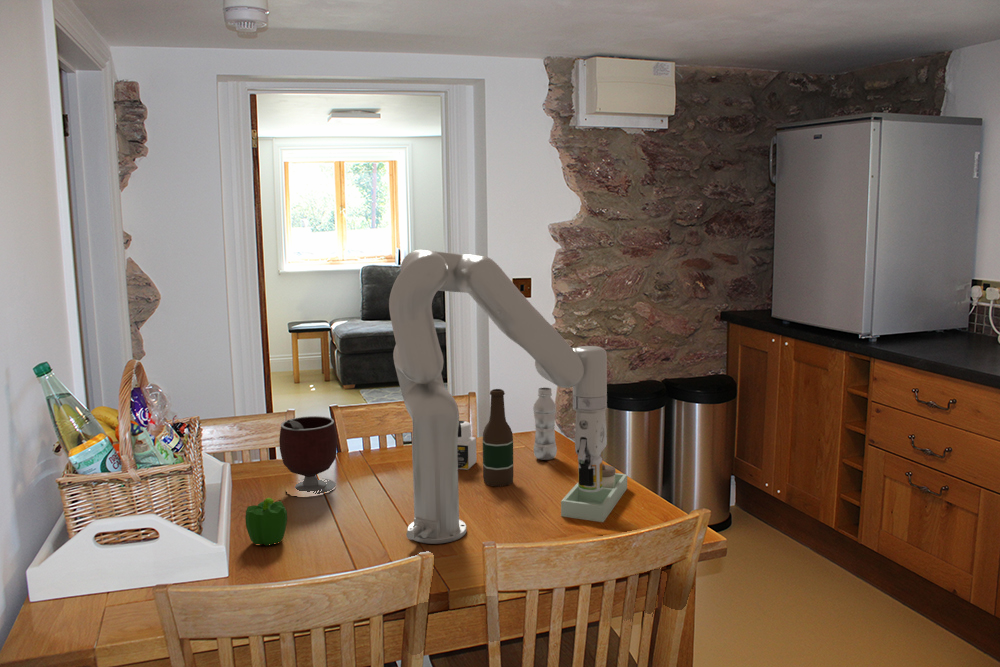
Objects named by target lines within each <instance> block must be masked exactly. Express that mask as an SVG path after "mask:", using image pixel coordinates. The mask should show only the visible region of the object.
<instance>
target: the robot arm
mask: <svg viewBox="0 0 1000 667" xmlns="http://www.w3.org/2000/svg"><path fill="white" fill-rule="evenodd" d="M438 291H440V292H452V293H466V294H469V296H470V297H471V298H472V299H473V301H475V302H476V304H477V305H478V306H479V307H480V308H481V309H482V311H484V313H485V314H486V315H487V316H488V317H489V318H490V320H491V321H492V323H494V325H496V327H497V328H498V329H499V330H500V332H502V333H503V334H504V335H505V336H506V337H507V338H508V339H510V340H511V341H513V342H514V343H516V345H518V346H519V347H521V348H522V349H523V350H525V352H527V354H528V355H530V356H531V357H532V358H533V359H534V360H535V361H534V366H535V370H536V372H537V373H538V374H539V375H540V376H541V377H542V378H543V379H545V380H547V381H549V382H550V383H552V384H553V385H556V386H557V387H559V388H563V389H569V388H572V410H573V411H575V412H576V413H575V425H574V426H575V428H574V430H575V431H574V447H575V448H574V449H575V453H576V455H577V463H578V462H579V485H584V486H593V484H594V479H593V468H592V461H593V456H594V457H596V456H598V455H600V456H601V457H602V454H601V453H602V452H603V451H604V449H606V447H607V444H608V441H607V440H608V438H607V436H608V434H607V420H606V419H607V417H606V410H607V409H608V403H607V402H608V393H607V392H608V386H607V385H608V376H607V375H608V355H607V350H606V349H605V348H603V347H601V346H598V345H597V346H596V345H583V346H577V347H571V345H570V344H569V343H568V342H567V341H566V339H565V338H564V337H563V336H562V335H561V333H560V332H558V331H557V330H556V328H555V327H554V326H552V325H551V323H550V322H549V321H547V319H545V317H544V316H543V315H542V313H541V312H539V311H538V309H537V308H535V307H534V306H533V305H532V303H531V302H530V301H529V300H528V299H527V297H526V296H525V295H524V294H523V293H522V292H521V291H520V289H519V288H518V287H517V285H515V284H514V282H513V281H512V280H511V279H510V278H509V276H508V275H507V274H506V273H505V271H503V269H502V268H501V267H500V265H499V264H497V263H496V262H495V260H493V258H490V257H488V256H484V255H478V254H467V253H453V252H446V251H445V252H444V251H436V250H428V249H416V250H413V251H410V252H409V253H408V254H406V256H404V258H403V260H402V262H401V265H400V273H399V274H398V275H397V277H396V279H395V281H394V282H393V285H392V288H391V290H390V293H389V300H388V309H389V317H390V321H391V322H390V323H391V326H392V330H393V336H394V340H395V346H394V347H393V348H394V349H393V353H392V355H393V356H392V358H393V363H394V367H395V372H396V376H397V381H398V384H399V387H400V392H401V396H402V399H403V402H404V405H405V410H406V411H407V413H408V414H409V417H410V418H411V421H412V439H411V443H412V444H411V454H412V456H411V457H412V477H413V478H412V482H413V483H412V484H413V485H412V486H413V487H412V488H413V510H414V511H413V513H414V516H413V517H414V518H413V521H412V522H411V523H410V524H409V525H408V526H407V528H406V529H407V532H406V538H407V539H408V540H410V541H415V542H417V543H421V544H428V545H440V544H446V543H451V542H454V541H457V540H460V539H461V538H462V537H464V536H465V535H466V533H467V530H468V529H467V524H466V523H465V521H463V520H461V519H460V504H459V502H460V498H459V496H460V494H459V469H458V451H457V442H458V428H459V421H460V411H459V408H458V404H457V401H456V399H455V398H454V396H453V395H452V394H451V393H450V391H448V390H447V389H446V387H445V384H444V380H443V375H442V372H443V368H444V362H445V361H444V355H443V352H442V348H441V345H440V342H439V337H438V334H437V330H436V326H435V320H434V316H433V307H432V306H433V304H432V303H433V300H434V297H435V295H436V293H438ZM586 452H589V453H590V455H588V454H586ZM585 457H589V462H588V460H587V459H586V458H585Z"/></svg>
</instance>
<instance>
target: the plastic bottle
mask: <svg viewBox="0 0 1000 667" xmlns="http://www.w3.org/2000/svg"><path fill="white" fill-rule="evenodd" d="M552 395H553V394H552V388H550V387H539V388H538V390H537V396H538V398H537V399H536V400H535V401H534V404H533V408H532V409H533V416H534V425H535V435H534V443H533V454H534V457H535V458H536V459H537V460H541V461H548V460H549V461H550V460H553V459H555V457H556V456H557V452H558V449H557V443H556V434H555V433H556V432H555V427H556V426H555V423H556V414H557V406H556V403H555V401H554V400H553V399H552V397H553V396H552Z"/></svg>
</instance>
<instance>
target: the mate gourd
mask: <svg viewBox="0 0 1000 667" xmlns="http://www.w3.org/2000/svg"><path fill="white" fill-rule="evenodd" d="M278 441H279V451H280V455H281V459H282V463H283V465H284V466H285V468H286V469H287V470H288V471H289V472H290V473H292V474H295V475H300V476H302V477H303V476H304V478H303V480H304V481H303V482H300V483H298V484H296V486H295V488H296V489H297V490H299V491H307V492H310V491H314V492H315V491H316V493H317V491H318V490H319V492H318V493H317V494H320V493H324V492H327V491H330V490H332V489H333V488H334V487H335V486H336V487H337V484H336V482H335V481H334V480H332V479H328V478H324V479H325V480H327V482H324V481H325V480H324V481H322V480H318V479H317V478H318V477H317V475H319V474H322V473H324V472H325V471H328V470H329V469H330V467H331V466H332V465H333V463H334V462H335V461H336V457H337V451H338V434H337V428H336V424H335V420H334V419H333V418H331V417H329V416H321V415H320V416H319V415H318V416H317V415H316V416H314V415H312V416H300V417H294V418H291V419H287V420H285V421H283V422H282V423H281V424H280V431H279V440H278ZM328 480H329V481H328ZM326 483H327V484H326ZM321 489H322V491H321ZM320 491H321V492H320ZM314 492H313V493H314ZM316 493H315V494H316Z"/></svg>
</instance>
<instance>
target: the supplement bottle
mask: <svg viewBox="0 0 1000 667" xmlns="http://www.w3.org/2000/svg"><path fill="white" fill-rule="evenodd" d="M586 454H588V455H590V453H589V452H586ZM585 458H586V459H587V460H588V462H589V457H585ZM602 464H603V458H602V455H601V456H600V455H598V456H596V457H594V456H593V461H592V468H593V479H594V484H593V486H584V485H579V462H578V461H577V467H578V468H577V471H578V472H577V475H578V476H577V479H578V480H577V481H578V482H577V483H578V487H579V489H580V490H582V491H585V492H597V491H600V490H601V489H602Z"/></svg>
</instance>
